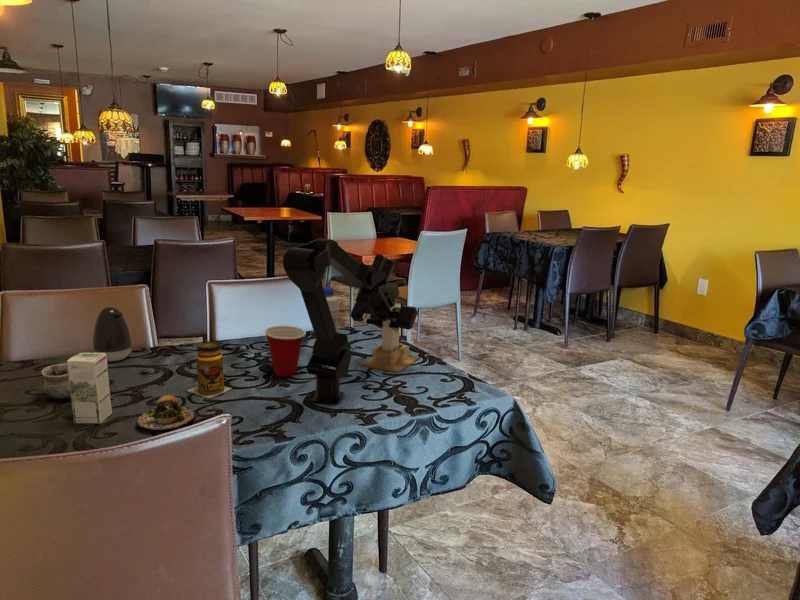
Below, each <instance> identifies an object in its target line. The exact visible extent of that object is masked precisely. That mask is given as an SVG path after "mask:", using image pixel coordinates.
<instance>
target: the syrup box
mask: <svg viewBox="0 0 800 600" xmlns="http://www.w3.org/2000/svg"><path fill="white" fill-rule="evenodd" d="M66 363H67V367H68V375H69V384H70V393H71V398H70V399H71V408H72V409H71V410H72V415H73V416H72V417H73V424H74V423H95V424H96V423H97V424H100V425H102V424H103V423H104V422H105V421H106V420H107V419H106V418H107V417H108V416H110V415H111V414H112V415H113V409H112V404H111V403H112V401H111V391H110V382H109V368H108V362H107V357H106V353H95V352H78V353H76V354H74V355H73V356H71V357H70V358H68V360H66ZM112 415H111V416H112ZM111 416H110V417H111ZM105 419H106V420H105ZM104 420H105V421H104ZM103 421H104V422H103ZM102 422H103V423H102ZM101 423H102V424H101Z"/></svg>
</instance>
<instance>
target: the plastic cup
mask: <svg viewBox="0 0 800 600" xmlns="http://www.w3.org/2000/svg"><path fill="white" fill-rule="evenodd" d="M264 334H265V336H266V337H267V343H268V346H269V347H268V348H269V353H270V358H271V363H272V367H273V372H274V374H275V375H276V376H278V377H290V376H293V375H295V374H296V373H297V371H298V365H299V364H298V363H299V360H300V356H301V355H300V353H301V348H302V343H303V340H304V337H305V336H306V334H307V333H306V330H304V329H303V328H300V327H299V326H298V327H297V326H293V325H273V326H269V327H267V328H266V329H265V330H264Z"/></svg>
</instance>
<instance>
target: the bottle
mask: <svg viewBox="0 0 800 600" xmlns="http://www.w3.org/2000/svg"><path fill="white" fill-rule="evenodd" d="M323 289H324V292H325V295H326V299H327V302H328V305H329V309H330V312H331V315H332V319H333V322H334V325H335V329H336V332H337V333H339V314H340V312H339V311H340V304H339V298H338V297H337V296H334V288H332V287H329V286H327V287H323Z"/></svg>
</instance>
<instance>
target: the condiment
mask: <svg viewBox="0 0 800 600" xmlns="http://www.w3.org/2000/svg"><path fill="white" fill-rule="evenodd" d="M221 352H222V349H221V344H220V343H218V342H216V341H215V342H214V341H207V342H203V343H202V342H201V343H200V344H198V345H197V356H196V372H197V376H196V377H197V385H198V386H196V387H192V388H191V389H187V390H186V392H189V393H192V394H195V395H198V396H201V397H204V398H207V399H211V398H213V397H216V396H220V395H222V394H223V393H227V392H228V391H230V390H232V389H233V388H232V387H228V386H225V381H224V380H225V377H224V358H223V354H222V353H221Z"/></svg>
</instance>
